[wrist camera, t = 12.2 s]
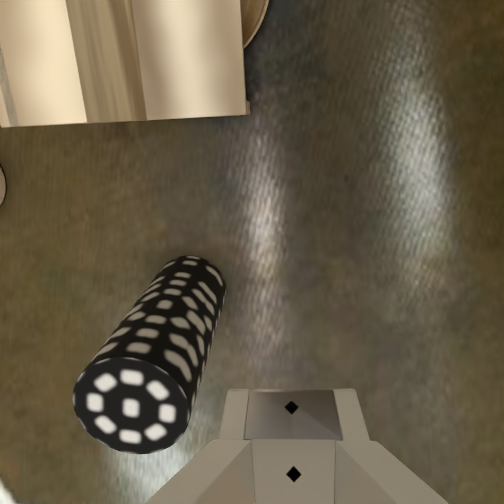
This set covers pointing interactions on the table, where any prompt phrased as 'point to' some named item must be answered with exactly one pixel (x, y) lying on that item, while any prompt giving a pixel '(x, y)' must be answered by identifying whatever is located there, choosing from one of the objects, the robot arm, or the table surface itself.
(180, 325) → the white-spotted black cylinder
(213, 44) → the wooden step block
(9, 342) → the table surface
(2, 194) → the teacup with lid
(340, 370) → the table surface
